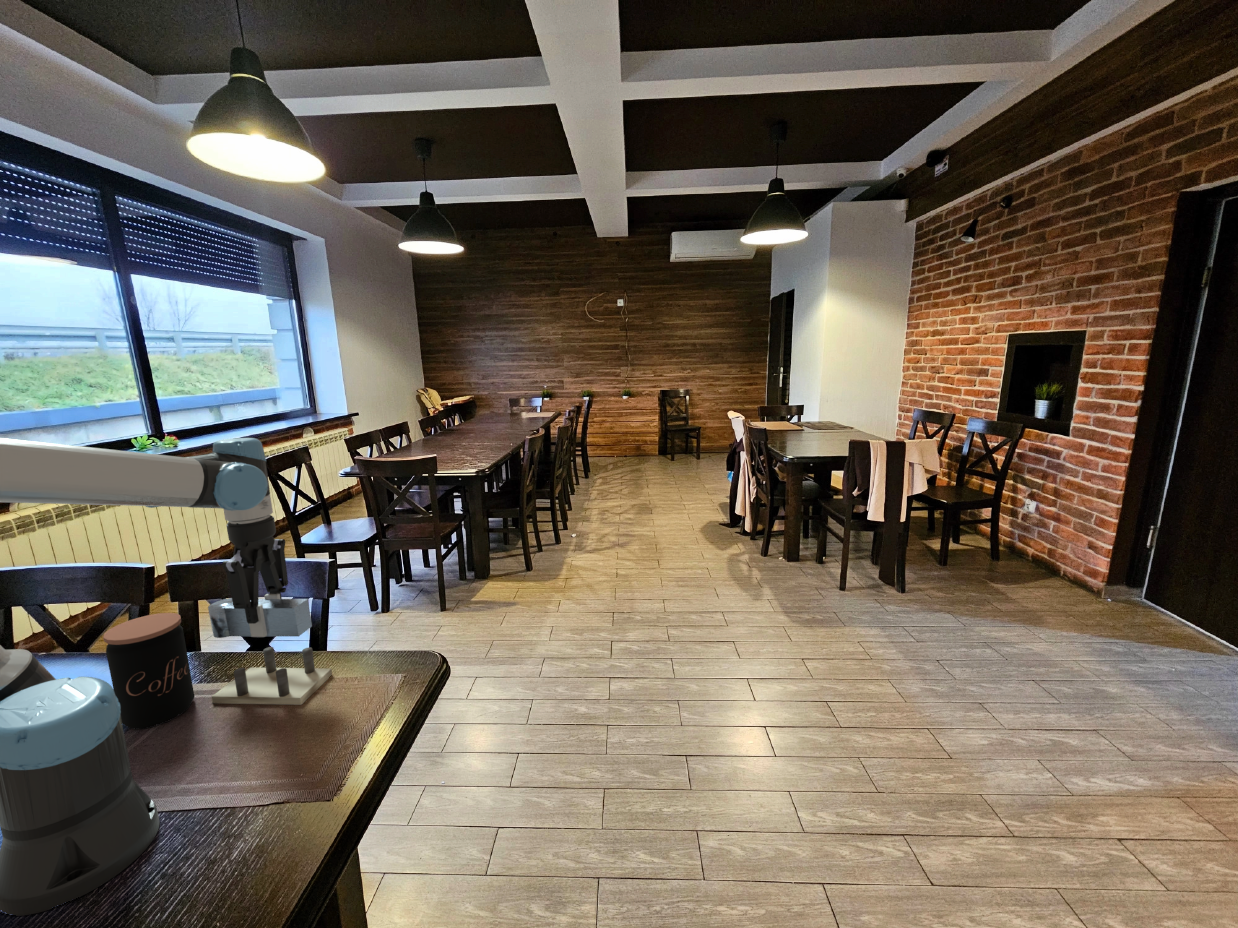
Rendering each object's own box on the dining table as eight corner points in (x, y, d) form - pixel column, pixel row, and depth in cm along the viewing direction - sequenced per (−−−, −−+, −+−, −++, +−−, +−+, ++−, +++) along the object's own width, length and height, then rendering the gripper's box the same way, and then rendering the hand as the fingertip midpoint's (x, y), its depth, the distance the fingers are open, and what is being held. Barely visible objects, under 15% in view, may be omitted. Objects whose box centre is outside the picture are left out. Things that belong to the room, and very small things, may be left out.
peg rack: (301, 704, 98) (297, 674, 97) (212, 703, 99) (207, 673, 98) (332, 674, 108) (328, 646, 107) (251, 673, 109) (247, 646, 108)
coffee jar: (127, 740, 89) (108, 646, 86) (115, 716, 96) (97, 628, 93) (202, 708, 98) (188, 622, 94) (187, 688, 104) (173, 607, 101)
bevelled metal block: (313, 624, 103) (309, 597, 102) (296, 638, 98) (292, 609, 97) (228, 624, 105) (222, 597, 103) (206, 637, 99) (201, 609, 98)
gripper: (233, 532, 88) (253, 653, 93) (299, 506, 105) (313, 610, 109) (192, 532, 89) (214, 653, 93) (264, 506, 106) (280, 609, 110)
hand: (268, 629), depth 101 cm, fingers closed on bevelled metal block, 4 cm apart
